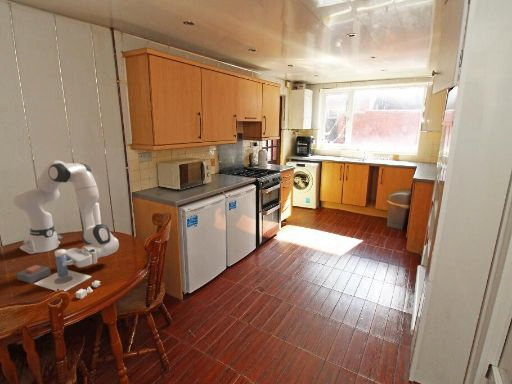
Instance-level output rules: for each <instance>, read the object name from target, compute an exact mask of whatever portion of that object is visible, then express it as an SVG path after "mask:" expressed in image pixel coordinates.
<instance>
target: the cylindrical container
mask: <svg viewBox="0 0 512 384" xmlns="http://www.w3.org/2000/svg"><path fill="white" fill-rule="evenodd" d="M100 210H101V209H100V203H99V202H97V203H96V204H95V206H94V208H93V217H94V222H95V226H96V225H99V224H102V220H101V219H102V218H101V211H100Z"/></svg>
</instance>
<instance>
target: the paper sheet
mask: <svg viewBox="0 0 512 384" xmlns="http://www.w3.org/2000/svg"><path fill="white" fill-rule="evenodd" d="M91 278H92V276H91V275H89V274H85V273H80V272H77V271H75V270H70V269H68V275H67V276H64V277H58V272H55V273H53V274H50V275H48V276H46V277H43V278H41V279H39V280H37V282H36V281H35V282H33V285H36V286H38V287H42V288H46V289H48V290H51V291H52V290H53V291H55V292H58V291H57V289H59V290H64V291H65V292H66V291H68V290H71V289H73V288H74V287H76V286H78V285H79V284H81V283H84V282H85V281H87V280H89V279H91Z"/></svg>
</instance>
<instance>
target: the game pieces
mask: <svg viewBox="0 0 512 384" xmlns="http://www.w3.org/2000/svg"><path fill="white" fill-rule="evenodd" d="M100 285H101V281H100V280H94V281H93V282H91V286H88V287H87V288H86V289H83V288H80V289H78V290H77V291H75V297H76V299H80V300H81V299H83V298H85V297H86V296H87V295H88V294H89V293H92V292H93V289H92V288H91V287H93V288H98V287H99V286H100Z"/></svg>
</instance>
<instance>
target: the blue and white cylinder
mask: <svg viewBox="0 0 512 384" xmlns="http://www.w3.org/2000/svg"><path fill="white" fill-rule="evenodd" d="M66 250H67V249H64V248H61V249H56V250H54V257H55V265H56V271H57V272H58V277H64V276H67V275H68V270H69V268H68V265H66V266H62V264H61V263H62V262H64V261H67V259H66ZM57 272H56V273H57Z"/></svg>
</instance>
